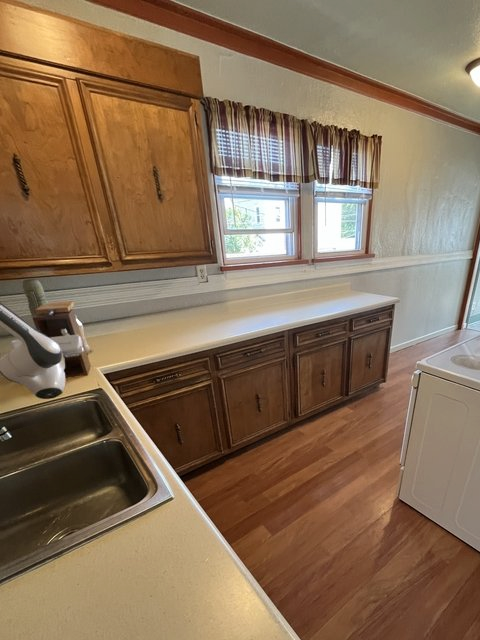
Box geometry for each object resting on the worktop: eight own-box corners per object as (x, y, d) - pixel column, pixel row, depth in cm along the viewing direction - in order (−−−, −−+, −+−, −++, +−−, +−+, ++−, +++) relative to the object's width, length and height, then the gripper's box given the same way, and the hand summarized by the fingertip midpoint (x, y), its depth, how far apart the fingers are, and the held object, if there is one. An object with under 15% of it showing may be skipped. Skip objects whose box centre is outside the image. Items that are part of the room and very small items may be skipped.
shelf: (65, 316, 126) (63, 311, 125) (31, 319, 122) (29, 314, 121) (74, 305, 146) (73, 300, 145) (45, 307, 142) (43, 302, 141)
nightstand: (87, 375, 141) (68, 314, 130) (55, 379, 137) (32, 317, 125) (90, 366, 151) (73, 309, 139) (60, 370, 147) (39, 311, 135)
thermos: (65, 345, 180) (42, 278, 164) (64, 351, 171) (40, 280, 155) (46, 347, 176) (20, 279, 160) (43, 353, 167) (16, 281, 151)
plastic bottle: (89, 351, 170) (77, 312, 161) (93, 354, 165) (81, 315, 156) (75, 354, 166) (62, 314, 157) (78, 357, 161) (65, 317, 152)
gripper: (80, 348, 116) (78, 322, 123) (9, 357, 108) (11, 328, 115) (86, 360, 121) (84, 334, 128) (18, 369, 113) (20, 341, 120)
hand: (49, 331), depth 121 cm, fingers open, 8 cm apart
